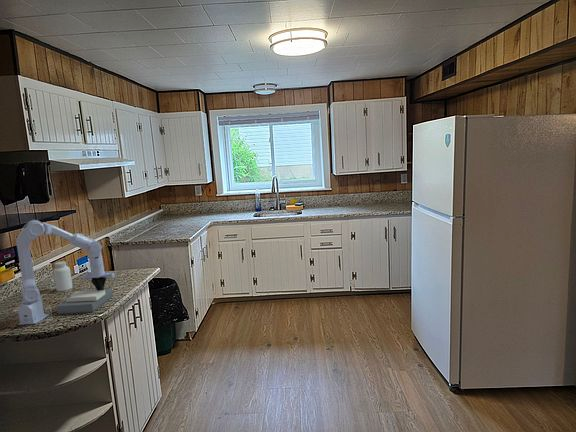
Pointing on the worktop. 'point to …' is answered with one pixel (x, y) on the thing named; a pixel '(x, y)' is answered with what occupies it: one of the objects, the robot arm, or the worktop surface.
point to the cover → (85, 296)
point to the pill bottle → (62, 276)
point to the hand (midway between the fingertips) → (101, 292)
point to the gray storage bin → (84, 304)
